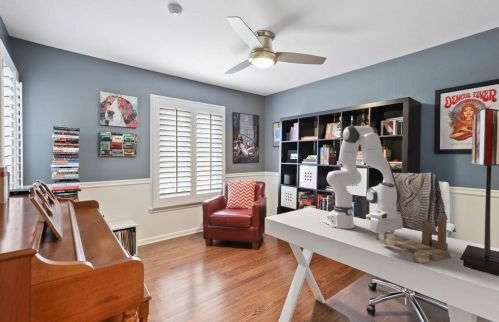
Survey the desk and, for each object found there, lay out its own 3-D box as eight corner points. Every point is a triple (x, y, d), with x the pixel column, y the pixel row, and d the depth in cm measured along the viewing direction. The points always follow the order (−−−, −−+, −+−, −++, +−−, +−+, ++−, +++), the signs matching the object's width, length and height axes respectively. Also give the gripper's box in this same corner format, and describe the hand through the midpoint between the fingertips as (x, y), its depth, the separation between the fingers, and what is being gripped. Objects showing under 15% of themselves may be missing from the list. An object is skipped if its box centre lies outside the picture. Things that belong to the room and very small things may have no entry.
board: (376, 239, 145) (376, 235, 145) (391, 236, 149) (391, 233, 149) (434, 260, 115) (434, 256, 115) (450, 257, 120) (450, 253, 120)
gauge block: (379, 242, 134) (379, 230, 134) (384, 241, 135) (384, 230, 135) (389, 245, 128) (389, 234, 128) (394, 244, 130) (394, 233, 130)
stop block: (414, 261, 115) (414, 252, 115) (422, 258, 117) (422, 250, 117) (420, 263, 112) (420, 255, 112) (429, 261, 114) (429, 253, 114)
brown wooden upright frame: (424, 243, 138) (425, 211, 137) (447, 250, 128) (448, 216, 128) (421, 244, 136) (422, 212, 135) (444, 251, 126) (445, 216, 126)
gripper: (395, 210, 138) (395, 234, 138) (368, 213, 131) (367, 239, 131) (406, 212, 132) (405, 238, 133) (378, 216, 125) (378, 243, 125)
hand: (386, 238), depth 132 cm, fingers closed on gauge block, 4 cm apart
